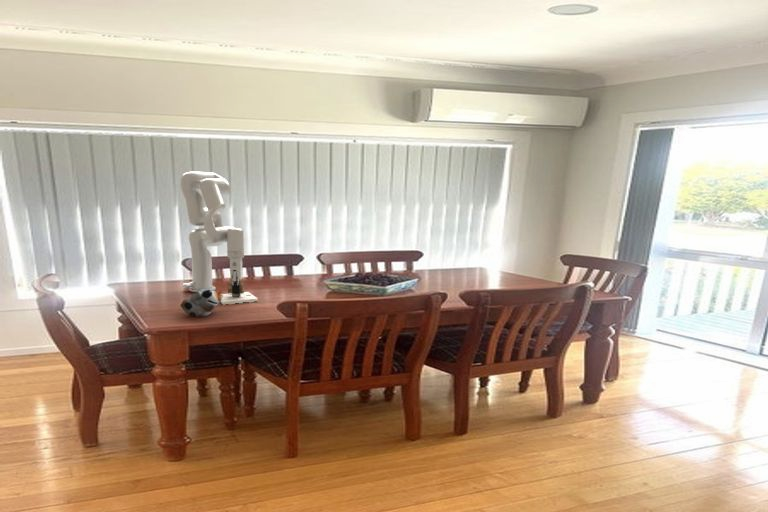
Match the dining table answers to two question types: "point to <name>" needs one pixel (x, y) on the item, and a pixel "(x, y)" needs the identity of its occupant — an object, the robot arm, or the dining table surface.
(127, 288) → the dining table surface
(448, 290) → the dining table surface
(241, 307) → the dining table surface
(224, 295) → the dial board
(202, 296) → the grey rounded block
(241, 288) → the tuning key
